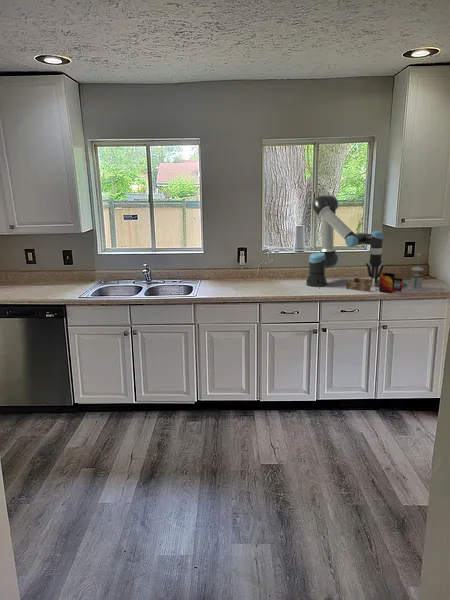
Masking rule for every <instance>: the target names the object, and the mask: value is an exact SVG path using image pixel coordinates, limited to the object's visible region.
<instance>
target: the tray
mask: <svg viewBox="0 0 450 600" xmlns="http://www.w3.org/2000/svg"><path fill="white" fill-rule="evenodd" d="M377 280H379V283H380V278H377ZM406 285H407V281H403V280H402V288H403V287H405V286H406ZM377 288H379V285H378V287H377ZM394 288H396V289H400V281H394Z"/></svg>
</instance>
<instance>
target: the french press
mask: <svg viewBox="0 0 450 600" xmlns="http://www.w3.org/2000/svg"><path fill="white" fill-rule="evenodd" d="M417 256H421V253H419V252H418V253H417ZM419 261H420V259H419V258H418V261H417V264H419ZM411 271H414V273H412V274H411V276H410V284H409V285H410V286H409V287H408V289H409V290H412V289H413V291H422V290H421V289H423V290H424V287H423V282H424V276H423V274H421V273H420V274H419V272H422V271H425V269H424V267H423V268H422V267H420V266H414V267H412V268H411Z"/></svg>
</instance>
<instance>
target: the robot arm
mask: <svg viewBox="0 0 450 600" xmlns="http://www.w3.org/2000/svg"><path fill="white" fill-rule="evenodd" d="M339 204H340V203H339V200H338V198H337V197H336V196H335V195H330V194H329V195H319V196H316V197H315V198H314V199H313V201H312V204H311V205H312V207H311V208H312V210H313V212H314V213H315V214H316V215H317V216H318V217H319V218H321V249H320V250H319V252H314V253H311V254H310V255H309V258H308V277H307V279H306V282H305V284H306V285H307V286H308V287H318V288H319V287H326V286H327V283H328V281H327V278H326V275H325V274H326V269H331V268H333V267H335V266H336V265H337V264H338V262H339V255H338V253H337V251H336V249H335V247H334V230H335V231H336V232H337V233H338V234H339V236H341V237H342V238H343V239H344V240H345V245H346V246H347V247H350V248H351V247H352V248H354V247H357V246H361V245H362V246H363V245H367V246H368V245H369V246H370V253H369V255H370V256H369V261H367V262H366V263H365V265H366V267H367V273H368V277H370V278H371V282H372V287H371V288H377V287H376V282H377V280H378V279H380V274H381V273H382V272H383V269H384V267H385V265H386V264H385V263H383V261H382V257H383V253H382V252H383V241H384V232H383V231H381V230H373V231H372V232H371V233H366V232H364V233H363V232H356V233H355V232H354V231H353V230H352V229H351V228H350V227H349V226H347V225H346V224H345V223H344V221H343V220H342V219H340V218H339V217H338V216H337V215H336V210H338V208H339V206H340V205H339ZM379 267H380V268H379Z"/></svg>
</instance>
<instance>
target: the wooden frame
mask: <svg viewBox="0 0 450 600" xmlns="http://www.w3.org/2000/svg"><path fill="white" fill-rule="evenodd" d="M352 279H353V280H347V281H346V285H345V286H346V287H345V288H346V289H347V290H352V291H361V292H368V293H370V292H371V288H373V287H372V282H371V279H369V278H364V277H363V278H361V277H355V278H354V277H353V278H352ZM378 285H379V280H378V279H377V282H376V287H375V288H379V287H378Z"/></svg>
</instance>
